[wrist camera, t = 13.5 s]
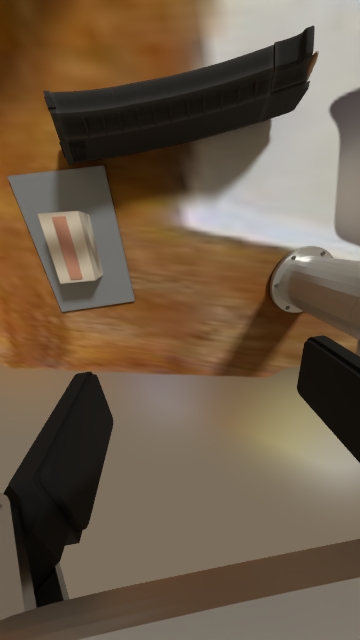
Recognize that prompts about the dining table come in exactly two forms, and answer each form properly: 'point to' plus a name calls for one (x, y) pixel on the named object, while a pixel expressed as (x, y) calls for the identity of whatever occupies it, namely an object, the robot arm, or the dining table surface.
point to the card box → (72, 246)
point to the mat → (94, 199)
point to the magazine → (183, 103)
